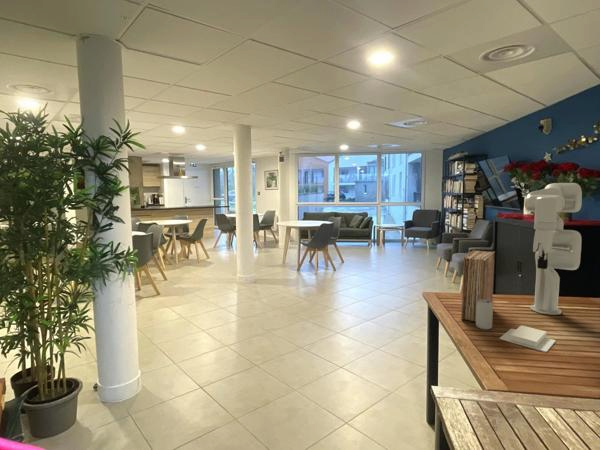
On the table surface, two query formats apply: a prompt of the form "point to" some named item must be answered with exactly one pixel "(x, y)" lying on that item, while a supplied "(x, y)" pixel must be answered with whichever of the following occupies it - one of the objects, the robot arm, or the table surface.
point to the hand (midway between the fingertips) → (542, 268)
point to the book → (477, 281)
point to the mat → (542, 346)
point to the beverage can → (484, 314)
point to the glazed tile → (528, 336)
